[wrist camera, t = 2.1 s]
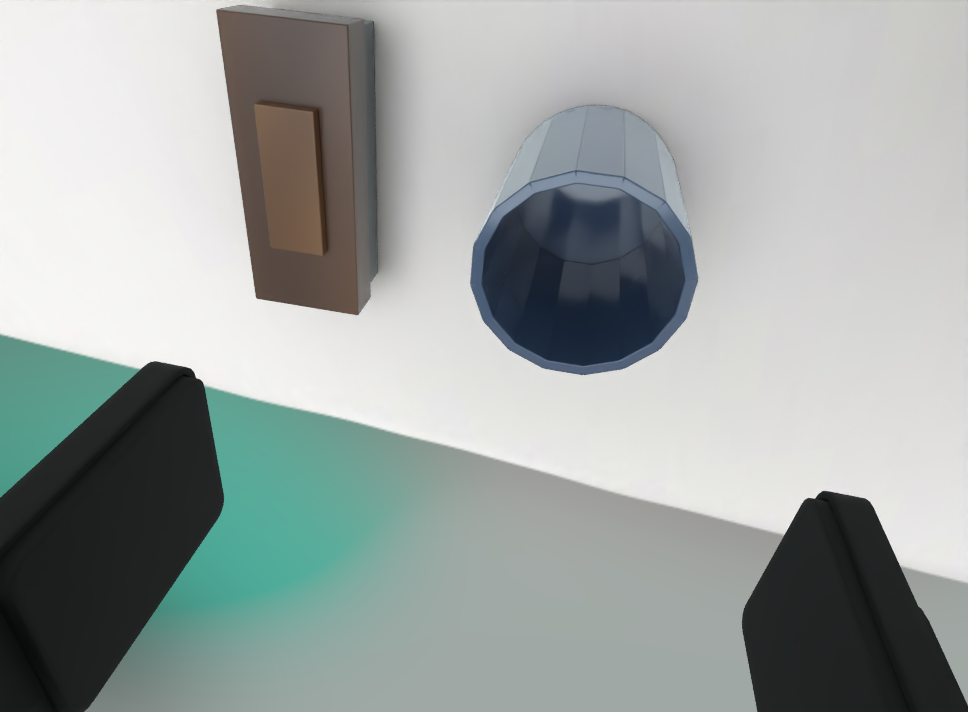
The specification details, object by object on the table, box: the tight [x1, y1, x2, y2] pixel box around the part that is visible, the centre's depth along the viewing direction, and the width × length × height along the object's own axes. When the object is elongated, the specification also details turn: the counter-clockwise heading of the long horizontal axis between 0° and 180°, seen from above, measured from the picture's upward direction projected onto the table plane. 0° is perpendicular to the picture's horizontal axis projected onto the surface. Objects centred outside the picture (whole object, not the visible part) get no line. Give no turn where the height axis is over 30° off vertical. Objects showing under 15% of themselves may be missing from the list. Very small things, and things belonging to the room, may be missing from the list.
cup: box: [470, 105, 698, 375], centre depth 24 cm, size 7×7×9 cm
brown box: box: [216, 5, 378, 315], centre depth 28 cm, size 5×12×4 cm, turn 175°
